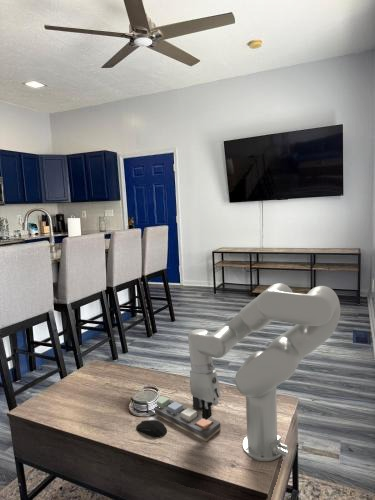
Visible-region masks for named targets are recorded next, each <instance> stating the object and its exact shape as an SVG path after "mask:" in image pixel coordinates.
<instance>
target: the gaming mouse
mask: <svg viewBox="0 0 375 500" xmlns="http://www.w3.org/2000/svg"><path fill="white" fill-rule="evenodd" d="M135 430H136V431H137V432H139V433H141V434H144V435H146V436H149V437H152V438H157V439H158V438H161V437H164V436H165V435H167V433H168V429H167V427H166V425H165V424H164V423H163V422H162V421H161V420H155V419H150V420H148V419H147V420H142V421H141V422H140V423H138V424H137V425H136V428H135Z"/></svg>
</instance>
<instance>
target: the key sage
mask: <svg viewBox="0 0 375 500" xmlns="http://www.w3.org/2000/svg"><path fill="white" fill-rule="evenodd" d="M157 398H158V400H157V405H158V407H160V408H164V407H165V406H167V405H169V404H170V402H169V399H170V398H169V397H166V396H164V395H161V396H159V397H157Z"/></svg>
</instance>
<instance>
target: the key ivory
mask: <svg viewBox="0 0 375 500" xmlns="http://www.w3.org/2000/svg"><path fill="white" fill-rule="evenodd" d="M197 412H198V411H197V410H195V409H193V408H190V407H187V409H186V410H184V411H183V412H181V418H183V419H185V420H187V421H189V422H190V421H191V420H193V419H194V418H196V417H197Z"/></svg>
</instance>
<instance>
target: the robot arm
mask: <svg viewBox="0 0 375 500" xmlns="http://www.w3.org/2000/svg"><path fill="white" fill-rule="evenodd" d="M340 303H341V302H340V300H339V297H338V295H337V293H336V291H334V290H333V288H331V287H329V286H325V285H319V286H315V287H313V288H312V289H310V290H309V291H308V292H307V293H296V292H293V289H292V288H290V286H288V285H287V284H285V283H282V282H281V283H280V282H279V283H274V284H272V285H270V286H268V287H267V288H266V289H264V291H262V292H261V293H260V294H259V295H257V297H255V298H253V299H252V300H251V301H250V302H249V303H247V304H246V305H245V306H244V307H242V308H241V309H240V310H239V312H238V314H236V315H235V316H234V317H232V318H231V319H230V320H228V321H227V322H226V323H225V324H224V325H222V326H221V327H219V328H218V329H217V330H216V331H215V332H213V333H211V334H210V332H209V330H208V329H205V328H204V329H203V328H198V329H197V328H196V329H194V330H191V331H190V332H189V333H188V335H187V342H188V348H189V360H190V368H191V369H190V370H189V387H190V388H189V389H190V393H191V396H192V399H193V398H195V399H196V400H197V401H198V402H199V405H200V407H201V409H200V410H201V414H202V418H203V419H205V420H207V419H208V418H212V415H213V414H212V406H218V405H219V403H220V402H219V399H218V398H221V388H220V383H219V378H218V374H217V371H216V366H215V365H214V361H213V359H221V358H223V357H225V356H226V355H227V354H228V353H229V352H230V351H231V350H232V349H233V348H234V347H235V346H236V345H237V344H238V343H239V342H241V341H242V340H244V339H245V338H246V337H247V336H249V335H250V334H252V333H253V332H257V333H258V332H260V331H261V330H263V329H264V328H265V327H267V326H268V325H270V324H271V323H272V322H273V321H276V322H280V323H284V324H285V323H286V324H294V325H293V326H292V327H290V328H289V329H288V330H287V331H285V332H284V333H282V334H281V335H279V336H278V337H275V339H273V340H272V341H271V342H270V344H269V345H268V346H267V347H266V349H264V350H257V351H255V352H253V353H251V354H250V355H249V356H248V357H247V358H246V360H244V362H243V364H241V365H240V367H239V368H238V370H237V371H236V374H235V380H234V381H235V386H236V389H237V391H238V392H239V393H240V394H241V395H243V396H244V397H245V408H246V409H245V410H246V411H245V413H246V414H245V415H246V418H245V419H246V437H244V438H243V441H242V449H243V452H244V453H245V454H246V455H247V456H249V457H251V459H252V460H255V461H259V462H272V461H275V460H276V459H279V458H280V457H281V456H282V457H285V458H288V456H289V455H290V453H289V450H288V449H289V446H288V445H287V444H285V443H282V442H281V441H282V440H281V436H280V435H278V416H277V415H278V411H277V409H278V407H277V405H278V403H277V399H278V398H277V397H278V396H277V387H278V386H280V385H281V384H283V383H284V382H286V381H287V380H288V379H290V378H291V377H292V375H294V373H295V372H296V370H297V368H298V366H299V364H300V362H301V360H303V359H304V358H305V357H307V356H308V355H310V354H311V353H312V352H314V351H315V350H316V349H317V348H319V347H320V346H322V345H324V343H326V342H327V341H328V340H329V339H330V338H331V336H332V335H333V333H334V332H335V331H336V329H337V326H338V324H339V321H340V317H341V304H340Z"/></svg>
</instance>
